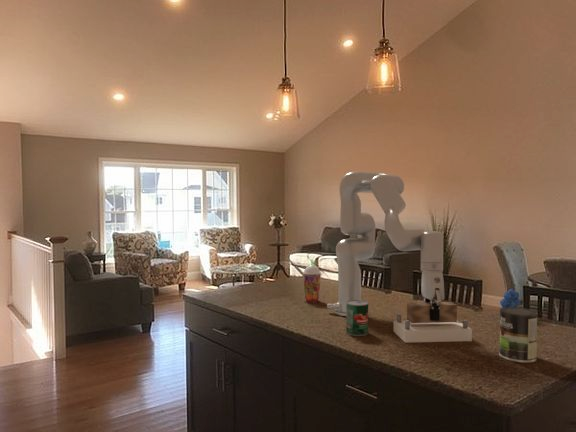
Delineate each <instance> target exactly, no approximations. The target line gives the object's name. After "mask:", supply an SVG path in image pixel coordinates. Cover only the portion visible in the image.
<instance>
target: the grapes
mask: <svg viewBox="0 0 576 432" xmlns="http://www.w3.org/2000/svg"><path fill="white" fill-rule="evenodd" d="M502 295H503V298H502V299H501V300H500V301H499V304H500V306H501V307H500V308H499V311H500V309H501V308H505V307H517V308H519V307H518V306H520V305H521V300H520V299H519V297H520V293H519V291H516V290H515V289H513V288H510V289H509V290H508V291H505V292H504V293H503V294H502Z"/></svg>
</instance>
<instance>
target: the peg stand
mask: <svg viewBox="0 0 576 432" xmlns="http://www.w3.org/2000/svg"><path fill="white" fill-rule="evenodd" d="M393 332H394V333H395V335H397V336H398V337H399V338H400V339H401V340H402V341H403V342H404V343H439V342H440V343H441V342H442V343H443V342H446V343H447V342H448V343H449V342H473V329H472V328H470V327H469V321H468V320H467V319H463V320H462V322H461V321H459V320H457V322H442V323H411V322H410V321H408V320H407V319H406V320H402V314H396V320H393Z"/></svg>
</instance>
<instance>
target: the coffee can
mask: <svg viewBox="0 0 576 432" xmlns="http://www.w3.org/2000/svg"><path fill="white" fill-rule="evenodd" d="M517 307H518V306H517ZM517 307H505V308H501V307H500V308H501V309H500V308H499V309H500V310H499V314H500V315H499V353H498V355H499V356H500V358H503V359H504V360H507V361H511V362H514V363H515V362H516V363H523V364H524V363H527V364H528V363H534V362H537V348H538V347H537V346H538V345H537V343H538V338H537V337H538V336H537V335H538V315H539V314H538V312H537V311H536V310H533V309H529V308H524V307H518V308H517Z"/></svg>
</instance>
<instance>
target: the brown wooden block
mask: <svg viewBox="0 0 576 432" xmlns="http://www.w3.org/2000/svg"><path fill="white" fill-rule="evenodd" d="M434 303H435V302H433V305H434ZM430 309H431V303H430V302H424V301H422V302H419V301H417V302H414V301H413V302H406V320H408V321H410V322H411V323H442V322H457V321H458V320H457V318H458V304H456V303H454V302H452V301H442V302H441V304H440V316H439V321H431V320H430Z"/></svg>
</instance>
